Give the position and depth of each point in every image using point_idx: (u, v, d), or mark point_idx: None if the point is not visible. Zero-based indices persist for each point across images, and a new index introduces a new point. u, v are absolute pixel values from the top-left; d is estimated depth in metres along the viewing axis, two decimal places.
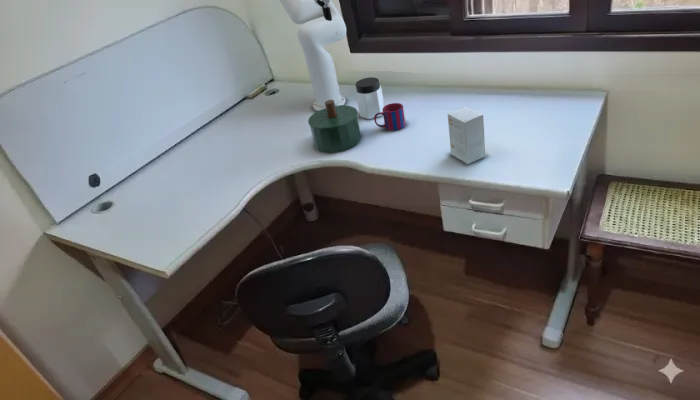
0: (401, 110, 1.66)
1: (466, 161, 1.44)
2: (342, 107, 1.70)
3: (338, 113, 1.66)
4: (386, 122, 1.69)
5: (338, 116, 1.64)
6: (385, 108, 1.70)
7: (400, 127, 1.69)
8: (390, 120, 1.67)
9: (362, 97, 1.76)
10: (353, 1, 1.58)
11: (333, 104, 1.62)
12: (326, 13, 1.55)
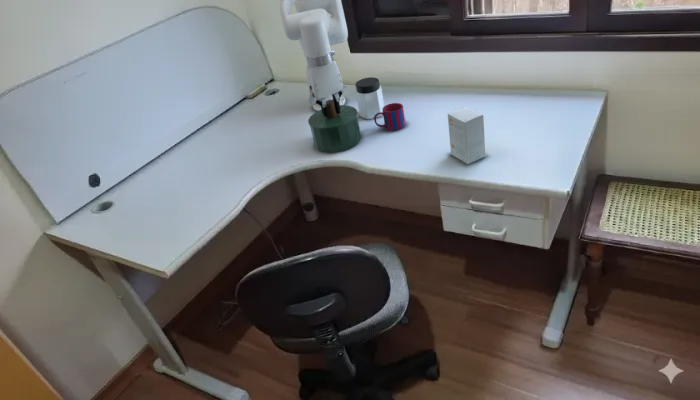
0: (401, 110, 1.66)
1: (466, 161, 1.44)
2: (342, 107, 1.70)
3: None
4: (386, 122, 1.69)
5: (338, 116, 1.64)
6: (385, 108, 1.70)
7: (400, 127, 1.69)
8: (390, 120, 1.67)
9: (362, 97, 1.76)
10: (335, 105, 1.64)
11: (333, 104, 1.62)
12: (325, 111, 1.62)
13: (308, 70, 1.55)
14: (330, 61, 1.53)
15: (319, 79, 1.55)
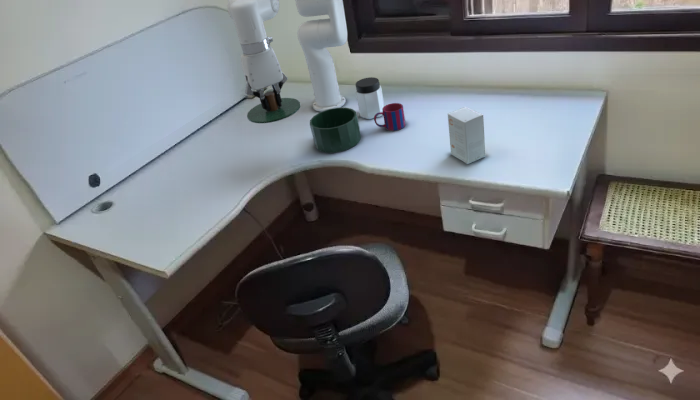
0: (401, 110, 1.66)
1: (466, 161, 1.44)
2: (285, 100, 1.57)
3: None
4: (386, 122, 1.69)
5: (279, 109, 1.52)
6: (385, 108, 1.70)
7: (400, 127, 1.69)
8: (390, 120, 1.67)
9: (362, 97, 1.76)
10: None
11: (273, 96, 1.49)
12: (264, 104, 1.50)
13: (242, 58, 1.42)
14: (266, 48, 1.41)
15: (255, 68, 1.42)
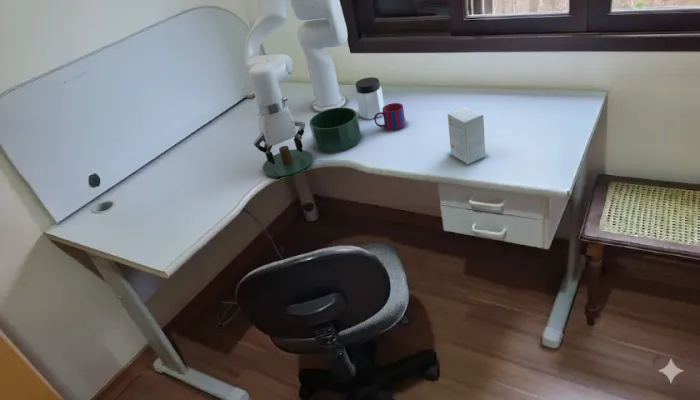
0: (401, 110, 1.66)
1: (466, 161, 1.44)
2: (298, 151, 1.67)
3: (293, 158, 1.63)
4: (386, 122, 1.69)
5: (292, 162, 1.61)
6: (385, 108, 1.70)
7: (400, 127, 1.69)
8: (390, 120, 1.67)
9: (362, 97, 1.76)
10: (297, 143, 1.61)
11: (287, 150, 1.59)
12: (269, 158, 1.58)
13: (259, 117, 1.51)
14: (281, 109, 1.50)
15: (271, 127, 1.52)
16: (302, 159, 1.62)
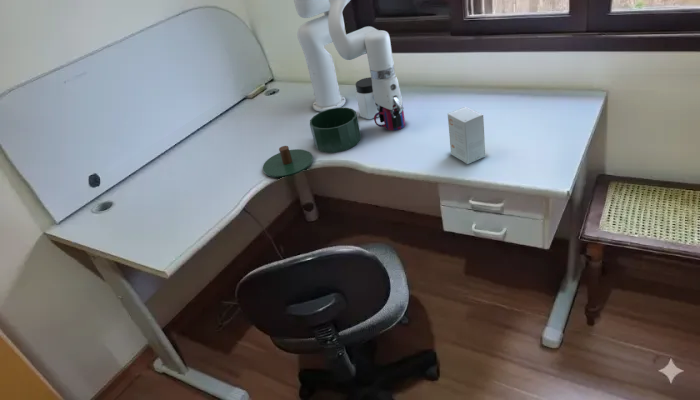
0: None
1: (466, 161, 1.44)
2: (298, 151, 1.67)
3: (293, 158, 1.63)
4: (386, 122, 1.69)
5: (292, 162, 1.61)
6: (385, 108, 1.70)
7: (400, 127, 1.69)
8: (390, 120, 1.67)
9: (362, 97, 1.76)
10: None
11: (287, 150, 1.59)
12: None
13: None
14: (377, 78, 1.59)
15: (374, 87, 1.65)
16: (302, 159, 1.62)
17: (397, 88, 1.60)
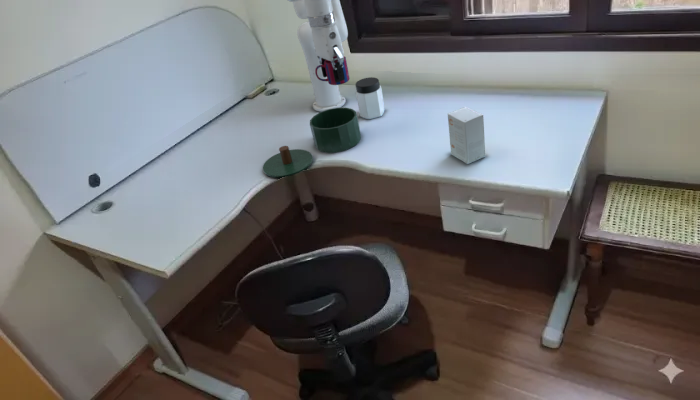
0: (343, 62, 1.55)
1: (466, 161, 1.44)
2: (298, 151, 1.67)
3: (293, 158, 1.63)
4: (328, 76, 1.57)
5: (292, 162, 1.61)
6: (327, 61, 1.59)
7: (343, 81, 1.57)
8: (332, 73, 1.56)
9: (362, 97, 1.76)
10: None
11: (287, 150, 1.59)
12: None
13: None
14: (315, 26, 1.47)
15: (314, 37, 1.53)
16: (302, 159, 1.62)
17: (337, 37, 1.49)
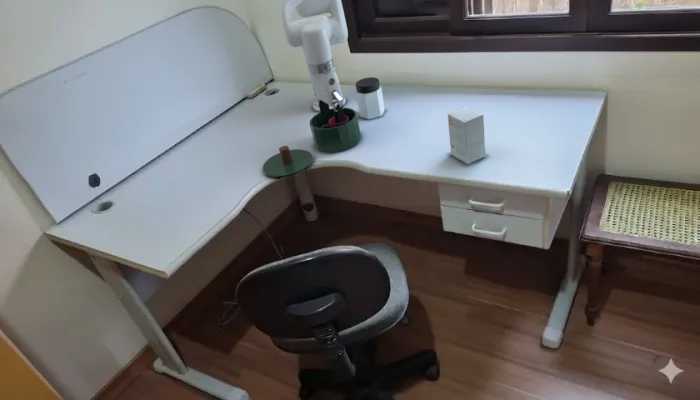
0: (346, 122, 1.65)
1: (466, 161, 1.44)
2: (298, 151, 1.67)
3: (293, 158, 1.63)
4: None
5: (292, 162, 1.61)
6: (332, 120, 1.69)
7: None
8: None
9: (362, 97, 1.76)
10: None
11: (287, 150, 1.59)
12: None
13: None
14: (315, 72, 1.54)
15: (314, 82, 1.60)
16: (302, 159, 1.62)
17: (336, 82, 1.56)
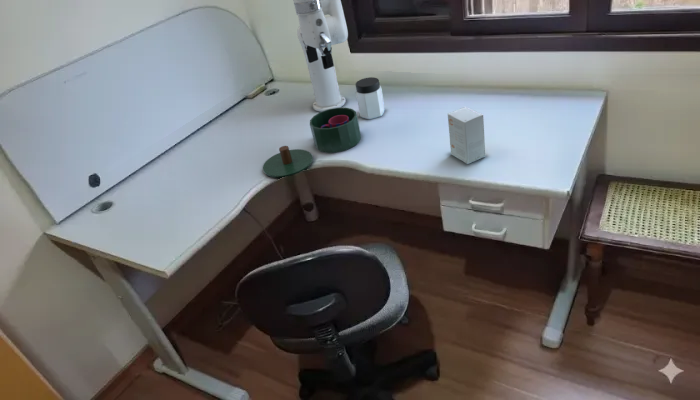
0: (346, 122, 1.65)
1: (466, 161, 1.44)
2: (298, 151, 1.67)
3: (293, 158, 1.63)
4: None
5: (292, 162, 1.61)
6: (332, 120, 1.69)
7: None
8: None
9: (362, 97, 1.76)
10: None
11: (287, 150, 1.59)
12: None
13: None
14: (301, 12, 1.45)
15: (301, 25, 1.50)
16: (302, 159, 1.62)
17: (324, 24, 1.46)
